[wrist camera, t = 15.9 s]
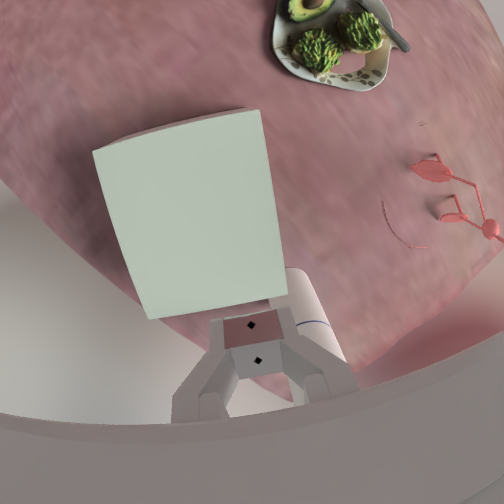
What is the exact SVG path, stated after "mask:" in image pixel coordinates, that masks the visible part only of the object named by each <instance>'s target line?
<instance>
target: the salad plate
mask: <svg viewBox="0 0 504 504" xmlns="http://www.w3.org/2000/svg"><path fill="white" fill-rule="evenodd" d="M346 7H348V8H350V12H347V11H346V10H345V8H346ZM290 36H291V37H292V40H291V37H290ZM392 47H395V48H398V49H400V50H401V51H402V52H404V53H406V52H409V50H410V46H409V45H408V43H407V42H406V41H405V40H404V39H403V38H402V37H401V36H400V35H399V34H398V33H397V32H396V31H395V30H394V29H393V25H392V19H391V16H390V13H389V11H388V10H387V8H386V7H385V5H384V4H383V2H382V1H381V0H278V2H277V5H276V12H275V17H274V22H273V26H272V30H271V39H270V48H271V51H272V52H273V54H274V56H275V57H276V59H277V60H278V61H279V62H280V64H281V65H282V66H283V67H284V68H285V69H287V70H288V71H289V72H290V73H292V74H293V75H295V76H297V77H299V78H301V79H304V80H307V81H310V82H315V83H322V84H326V85H330V86H335V87H338V88H342V89H347V90H353V91H358V92H361V91H367V90H371V89H373V88H374V87H376V86H377V85H379V84H380V83H382V82H383V81H384V78H385V76H386V73H387V68H388V62H389V54H390V51H391V48H392ZM343 50H349V51H350V52H353V53H356V54H365V58H366V65H365V66H364V67H363V68H362V69H360V70H358V71H355V72H352V73H347V74H338V73H331V72H330V71H331V69H332V67H333V66H334V64H337V65H338V64H339V63H340V61H339V60H338V58H339V57H341V56H342V55H343Z"/></svg>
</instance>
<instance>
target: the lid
mask: <svg viewBox="0 0 504 504" xmlns="http://www.w3.org/2000/svg"><path fill="white" fill-rule="evenodd" d="M92 153H93V157H94V161H95V165H96V169H97V173H98V177H99V180H100V184H101V187H102V191H103V194H104V198H105V201H106V205H107V208H108V211H109V214H110V218H111V221H112V224H113V227H114V230H115V233H116V236H117V239H118V242H119V245H120V248H121V251H122V254H123V256H124V259H125V262H126V265H127V267H128V270H129V273H130V275H131V278H132V281H133V283H134V286H135V288H136V291H137V293H138V296H139V298H140V301H141V303H142V306H143V308H144V310H145V313H146V315H147V317H148V319H149V320H150V319H157V318H163V317H169V316H175V315H181V314H187V313H193V312H199V311H204V310H210V309H216V308H221V307H227V306H232V305H237V304H242V303H248V302H253V301H258V300H263V299H268V298H273V297H277V296H282V295H287V294H288V288H287V281H286V274H285V266H284V259H283V252H282V245H281V239H280V232H279V225H278V218H277V212H276V205H275V199H274V193H273V186H272V180H271V174H270V168H269V162H268V156H267V150H266V144H265V138H264V132H263V127H262V121H261V115H260V110H253V111H246V112H241V113H235V114H230V115H224V116H219V117H214V118H209V119H205V120H200V121H196V122H191V123H187V124H183V125H179V126H175V127H171V128H167V129H163V130H159V131H155V132H152V133H148V134H145V135H141V136H138V137H134V138H131V139H128V140H124V141H121V142H118V143H115V144H112V145H109V146H106V147H103V148H100V149H97V150H94V151H92Z"/></svg>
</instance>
